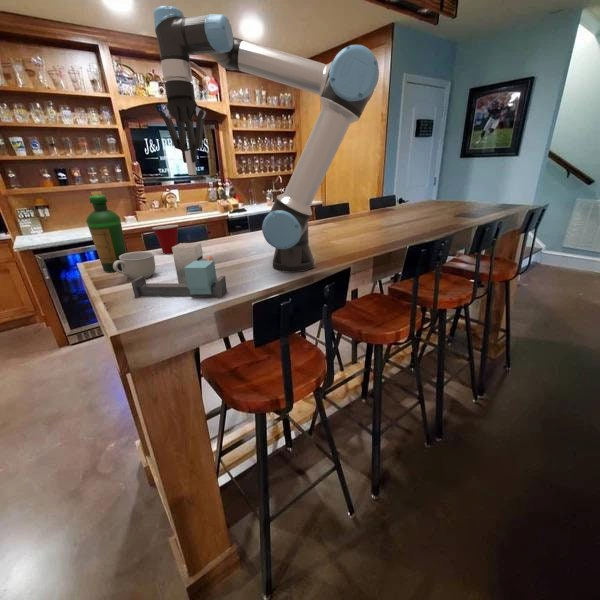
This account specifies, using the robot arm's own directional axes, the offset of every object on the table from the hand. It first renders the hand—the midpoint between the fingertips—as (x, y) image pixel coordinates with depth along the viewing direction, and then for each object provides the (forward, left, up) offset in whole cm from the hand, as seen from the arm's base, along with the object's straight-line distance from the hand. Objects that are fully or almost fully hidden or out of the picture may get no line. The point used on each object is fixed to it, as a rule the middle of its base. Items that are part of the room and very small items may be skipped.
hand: (192, 174), depth 96 cm
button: (-1, +5, -29) cm, 29 cm away
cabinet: (+3, +5, -32) cm, 33 cm away
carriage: (-5, +17, -31) cm, 36 cm away
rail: (+2, +17, -32) cm, 36 cm away
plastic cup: (+30, -34, -33) cm, 56 cm away
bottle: (+39, -9, -33) cm, 52 cm away
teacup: (+25, +1, -33) cm, 41 cm away
